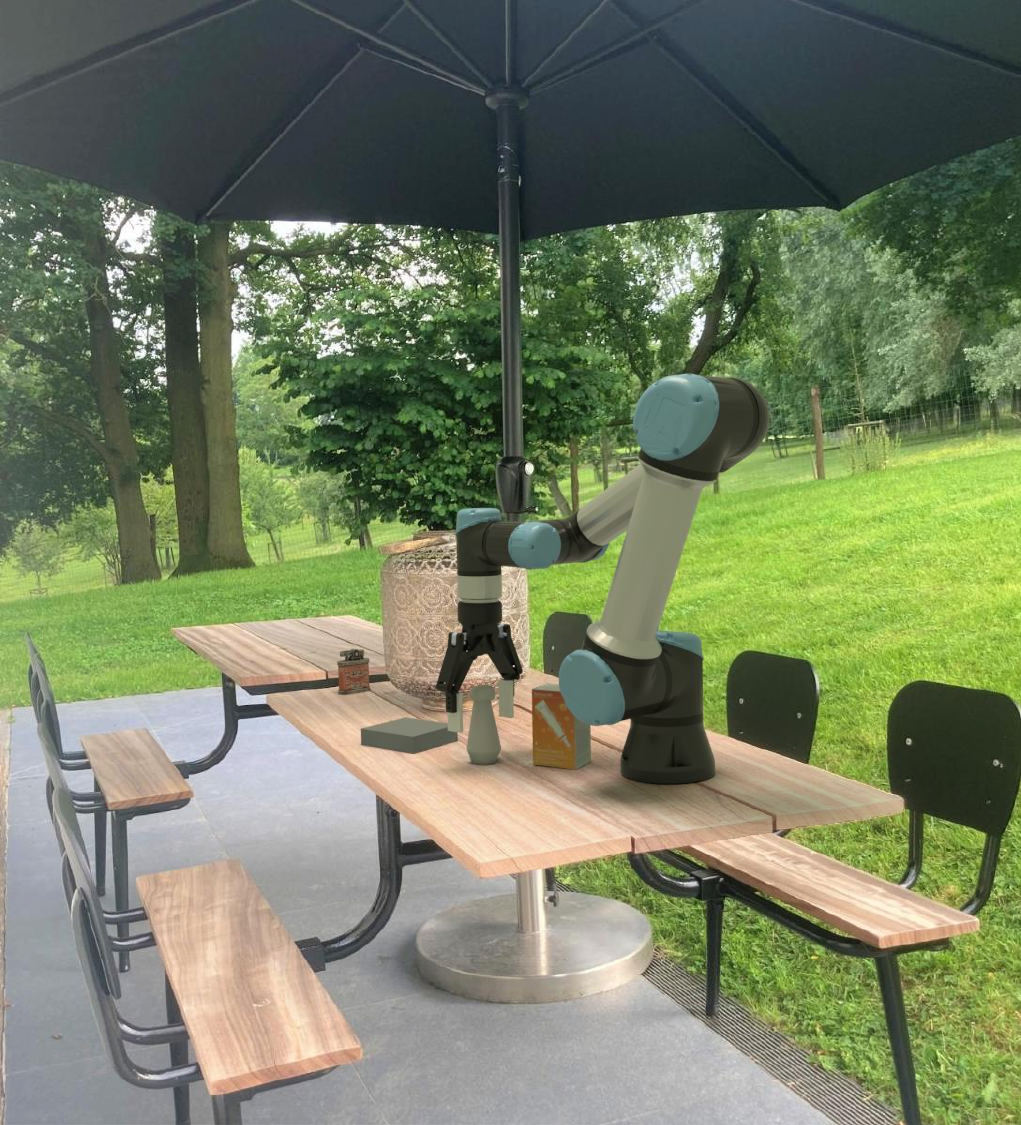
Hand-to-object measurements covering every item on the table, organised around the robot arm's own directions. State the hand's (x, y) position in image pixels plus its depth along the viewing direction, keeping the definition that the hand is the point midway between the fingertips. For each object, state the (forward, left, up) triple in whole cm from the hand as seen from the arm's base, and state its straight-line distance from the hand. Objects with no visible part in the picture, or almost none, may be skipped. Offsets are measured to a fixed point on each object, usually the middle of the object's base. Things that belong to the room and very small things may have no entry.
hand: (481, 724), depth 201 cm
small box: (-12, -6, -7) cm, 15 cm away
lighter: (+68, -36, -7) cm, 77 cm away
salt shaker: (0, 0, -7) cm, 7 cm away
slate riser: (+21, -4, -6) cm, 22 cm away
